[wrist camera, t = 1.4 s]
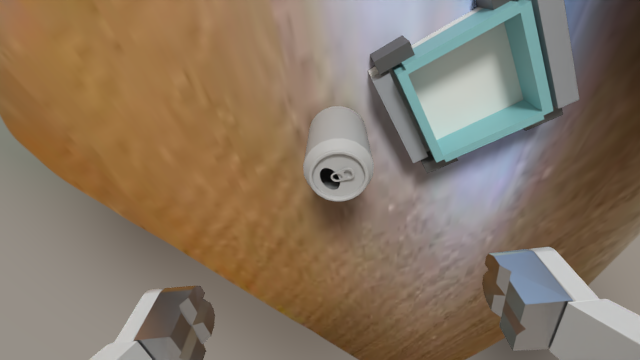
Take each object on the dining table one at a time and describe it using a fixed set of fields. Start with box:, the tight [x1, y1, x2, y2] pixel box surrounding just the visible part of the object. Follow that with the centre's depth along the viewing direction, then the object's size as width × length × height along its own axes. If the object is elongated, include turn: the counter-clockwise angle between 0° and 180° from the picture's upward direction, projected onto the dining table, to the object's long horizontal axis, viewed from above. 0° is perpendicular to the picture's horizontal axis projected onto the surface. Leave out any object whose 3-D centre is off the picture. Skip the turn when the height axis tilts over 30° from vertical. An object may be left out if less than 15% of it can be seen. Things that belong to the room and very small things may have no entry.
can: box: [303, 106, 374, 201], centre depth 36 cm, size 8×8×12 cm
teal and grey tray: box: [368, 0, 579, 173], centre depth 35 cm, size 18×16×6 cm
